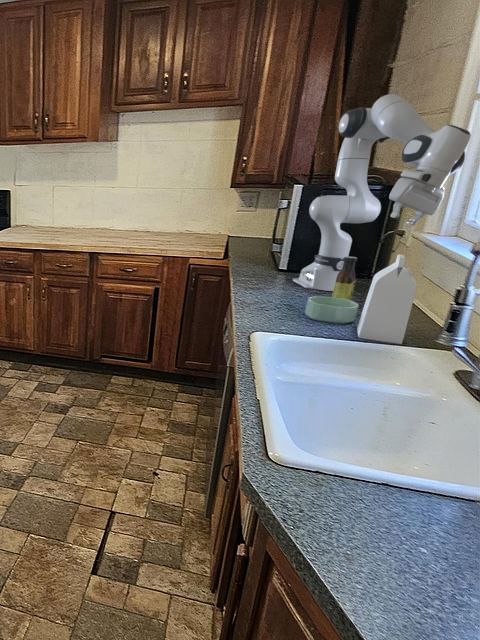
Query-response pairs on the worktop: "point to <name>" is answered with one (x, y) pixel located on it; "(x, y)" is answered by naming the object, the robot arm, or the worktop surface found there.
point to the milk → (388, 304)
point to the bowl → (331, 309)
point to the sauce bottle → (345, 279)
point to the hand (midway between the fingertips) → (402, 221)
